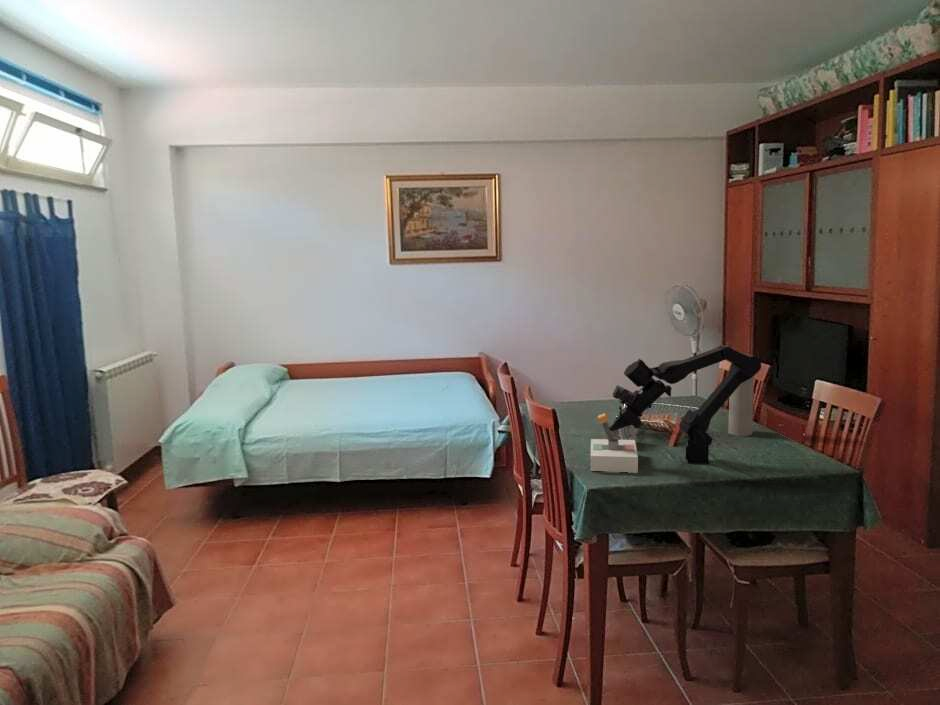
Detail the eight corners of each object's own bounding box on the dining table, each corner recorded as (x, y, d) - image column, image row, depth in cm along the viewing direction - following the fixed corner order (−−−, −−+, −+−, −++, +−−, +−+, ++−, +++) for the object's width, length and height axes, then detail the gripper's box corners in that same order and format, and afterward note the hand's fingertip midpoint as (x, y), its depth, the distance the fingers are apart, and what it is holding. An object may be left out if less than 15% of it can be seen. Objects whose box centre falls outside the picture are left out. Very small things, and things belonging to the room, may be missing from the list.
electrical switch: (625, 449, 239) (622, 422, 238) (611, 448, 242) (608, 421, 241) (637, 442, 246) (635, 416, 245) (624, 441, 249) (621, 415, 248)
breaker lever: (618, 443, 225) (605, 413, 225) (618, 446, 222) (605, 415, 221) (610, 445, 226) (597, 415, 225) (611, 448, 223) (597, 418, 222)
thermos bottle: (751, 430, 256) (754, 353, 251) (752, 436, 248) (755, 357, 244) (728, 429, 258) (730, 353, 254) (728, 435, 251) (730, 356, 246)
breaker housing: (634, 454, 233) (634, 432, 231) (637, 472, 215) (637, 448, 214) (591, 453, 235) (590, 431, 234) (590, 471, 218) (590, 447, 216)
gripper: (626, 371, 229) (591, 405, 233) (630, 384, 211) (592, 419, 214) (651, 395, 229) (616, 428, 233) (657, 410, 211) (618, 445, 214)
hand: (610, 430), depth 223 cm, fingers closed, pressing on breaker lever
